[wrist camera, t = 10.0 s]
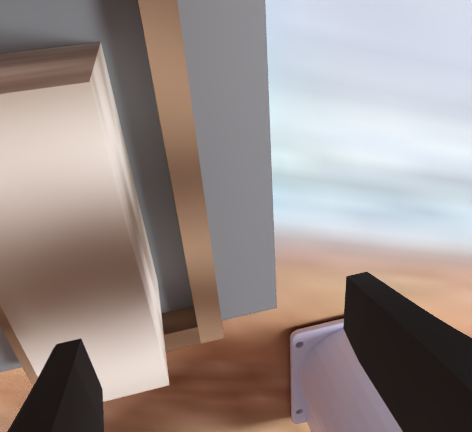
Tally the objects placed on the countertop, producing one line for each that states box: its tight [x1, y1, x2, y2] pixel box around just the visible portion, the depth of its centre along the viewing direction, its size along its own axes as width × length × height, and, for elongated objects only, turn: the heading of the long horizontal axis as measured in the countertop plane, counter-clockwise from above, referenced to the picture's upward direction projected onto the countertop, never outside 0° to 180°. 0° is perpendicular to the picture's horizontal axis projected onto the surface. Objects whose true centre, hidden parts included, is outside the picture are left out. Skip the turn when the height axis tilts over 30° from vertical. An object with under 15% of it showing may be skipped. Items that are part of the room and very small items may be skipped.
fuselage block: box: [0, 42, 169, 402], centre depth 15 cm, size 11×4×6 cm, turn 5°
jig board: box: [0, 0, 277, 384], centre depth 17 cm, size 18×16×2 cm
